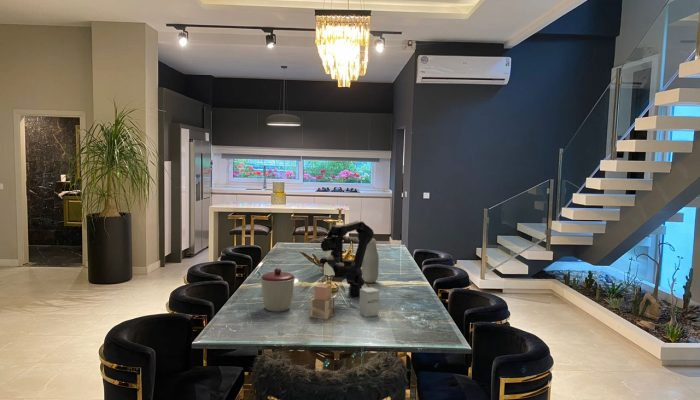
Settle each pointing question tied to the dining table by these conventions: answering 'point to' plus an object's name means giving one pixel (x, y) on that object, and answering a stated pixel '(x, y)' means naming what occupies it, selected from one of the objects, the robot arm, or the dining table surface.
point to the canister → (277, 290)
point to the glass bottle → (370, 263)
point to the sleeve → (321, 308)
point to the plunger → (323, 292)
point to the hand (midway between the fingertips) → (337, 277)
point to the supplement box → (369, 302)
